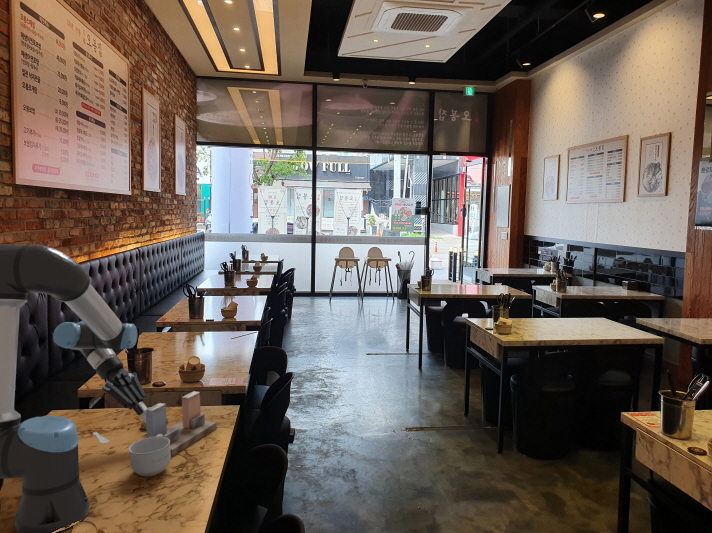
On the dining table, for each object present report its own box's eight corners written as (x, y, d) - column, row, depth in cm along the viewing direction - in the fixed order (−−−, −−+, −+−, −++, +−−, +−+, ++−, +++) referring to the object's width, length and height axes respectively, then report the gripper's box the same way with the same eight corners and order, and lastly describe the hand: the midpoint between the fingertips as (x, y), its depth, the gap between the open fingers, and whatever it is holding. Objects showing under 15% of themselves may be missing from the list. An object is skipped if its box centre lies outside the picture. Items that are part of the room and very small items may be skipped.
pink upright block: (189, 427, 172) (188, 397, 171) (182, 426, 173) (181, 397, 172) (200, 421, 178) (199, 392, 177) (194, 420, 179) (193, 391, 178)
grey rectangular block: (153, 442, 161) (152, 410, 160) (146, 441, 162) (145, 409, 161) (166, 434, 167) (165, 404, 166) (160, 433, 168) (159, 403, 167)
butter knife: (100, 444, 165) (110, 441, 167) (77, 422, 182) (86, 419, 184) (100, 445, 165) (110, 443, 167) (77, 423, 182) (86, 421, 184)
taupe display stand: (172, 456, 157) (172, 440, 157) (140, 450, 161) (139, 434, 161) (216, 428, 178) (216, 413, 177) (186, 423, 182) (186, 409, 181)
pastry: (151, 432, 175) (151, 421, 175) (135, 429, 177) (134, 418, 177) (170, 421, 184) (169, 411, 183) (154, 419, 186) (153, 408, 186)
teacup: (157, 482, 142) (156, 454, 141) (120, 478, 144) (119, 450, 143) (184, 459, 155) (183, 432, 155) (150, 455, 158) (149, 429, 157)
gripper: (115, 364, 176) (158, 420, 172) (83, 376, 164) (128, 436, 160) (127, 350, 174) (171, 406, 170) (95, 360, 162) (142, 421, 158)
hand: (150, 420), depth 165 cm, fingers closed
